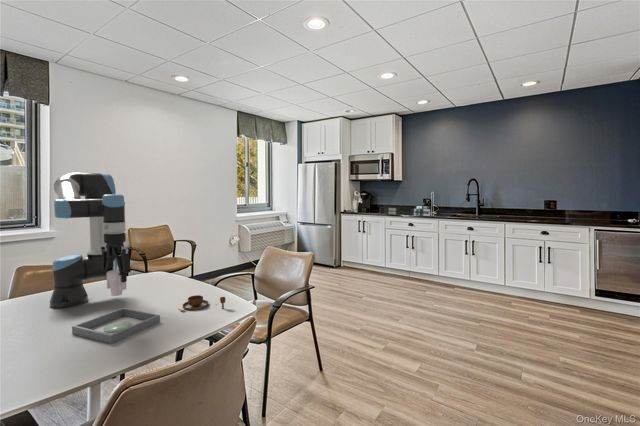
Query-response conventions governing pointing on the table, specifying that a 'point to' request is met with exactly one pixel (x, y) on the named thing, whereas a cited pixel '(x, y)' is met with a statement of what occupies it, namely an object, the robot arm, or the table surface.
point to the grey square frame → (115, 325)
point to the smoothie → (114, 281)
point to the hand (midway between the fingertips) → (116, 288)
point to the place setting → (198, 303)
